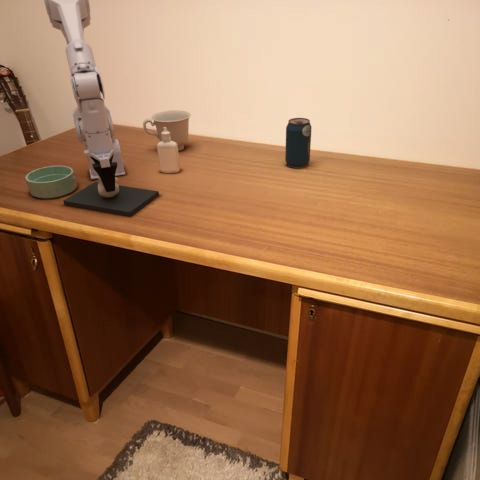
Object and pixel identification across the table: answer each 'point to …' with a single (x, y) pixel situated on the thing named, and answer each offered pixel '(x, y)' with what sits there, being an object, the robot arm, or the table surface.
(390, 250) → the table surface
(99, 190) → the rubber duck
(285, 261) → the table surface
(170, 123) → the teacup
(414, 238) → the table surface
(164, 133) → the eye dropper bottle
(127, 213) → the desk pad
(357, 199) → the table surface
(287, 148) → the soda can
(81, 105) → the robot arm
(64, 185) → the bowl
